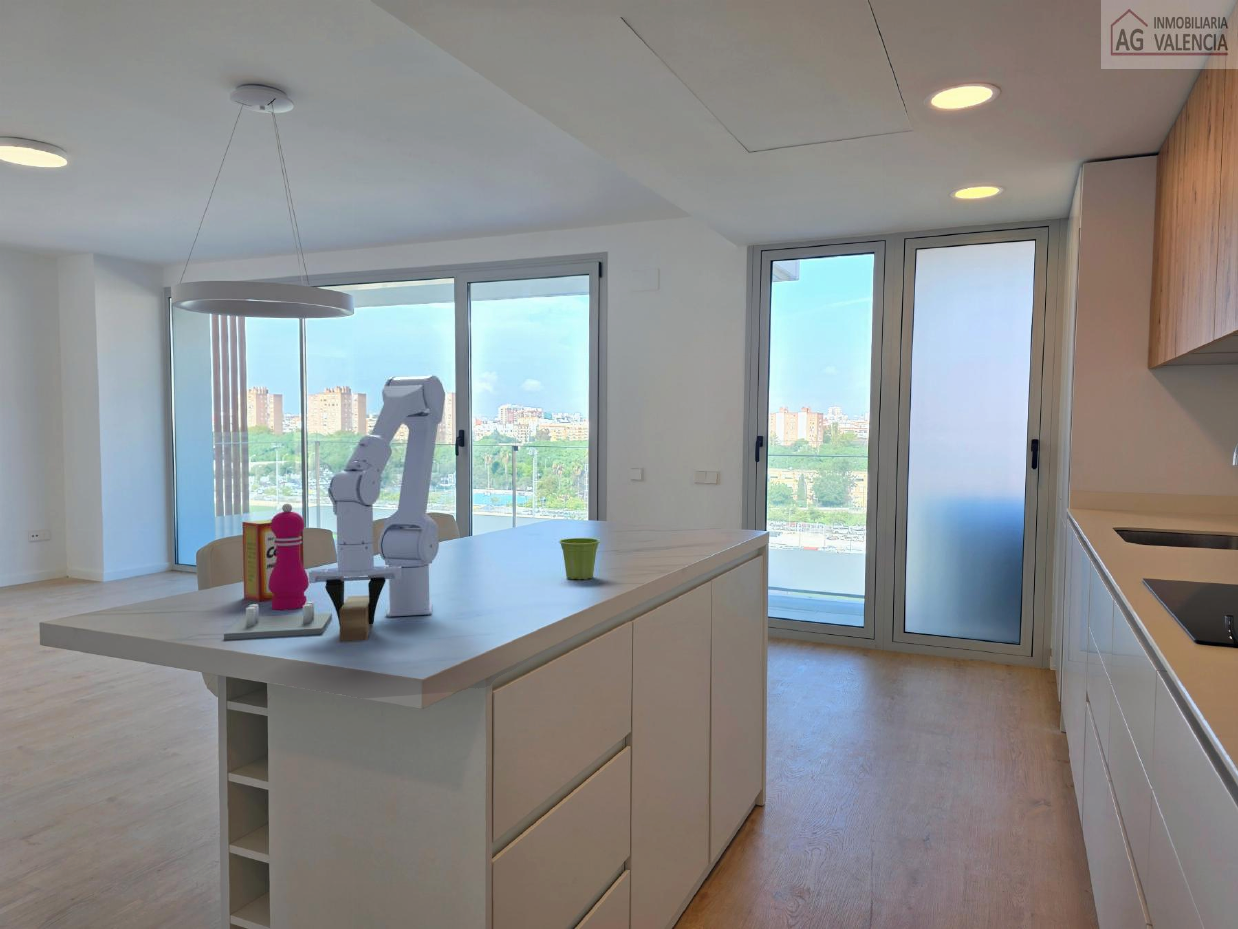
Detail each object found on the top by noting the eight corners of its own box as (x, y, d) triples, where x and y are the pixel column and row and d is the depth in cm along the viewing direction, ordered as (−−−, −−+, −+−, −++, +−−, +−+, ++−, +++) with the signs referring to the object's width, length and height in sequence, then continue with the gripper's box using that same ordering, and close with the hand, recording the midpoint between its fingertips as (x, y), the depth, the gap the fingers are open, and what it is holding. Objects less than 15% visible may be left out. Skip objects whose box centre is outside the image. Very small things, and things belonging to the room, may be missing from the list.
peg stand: (242, 623, 140) (241, 600, 140) (331, 618, 143) (331, 596, 143) (224, 639, 128) (223, 615, 128) (322, 634, 132) (321, 610, 131)
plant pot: (608, 578, 182) (607, 540, 182) (572, 583, 177) (572, 544, 177) (586, 573, 190) (586, 537, 190) (552, 577, 185) (551, 540, 184)
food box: (259, 601, 159) (257, 522, 158) (244, 598, 163) (242, 520, 162) (304, 594, 166) (302, 518, 166) (288, 591, 170) (286, 516, 170)
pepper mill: (262, 607, 154) (260, 503, 153) (298, 601, 159) (296, 501, 158) (278, 612, 149) (276, 505, 148) (315, 606, 154) (313, 503, 153)
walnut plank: (348, 625, 138) (348, 596, 138) (372, 623, 139) (372, 595, 139) (339, 642, 126) (339, 611, 126) (366, 640, 127) (365, 609, 127)
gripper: (305, 547, 127) (306, 632, 127) (399, 544, 130) (400, 626, 130) (312, 541, 134) (313, 622, 134) (401, 538, 137) (402, 617, 137)
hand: (356, 623), depth 133 cm, fingers closed on walnut plank, 4 cm apart
